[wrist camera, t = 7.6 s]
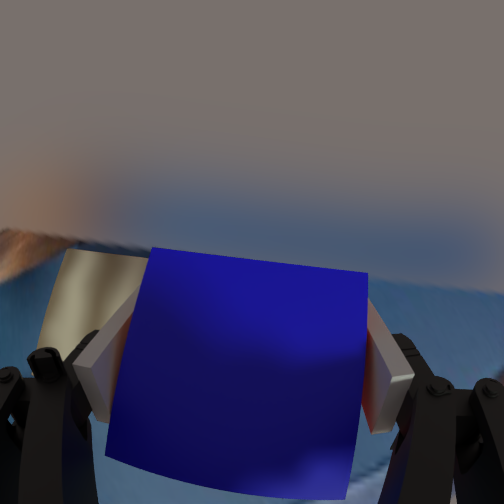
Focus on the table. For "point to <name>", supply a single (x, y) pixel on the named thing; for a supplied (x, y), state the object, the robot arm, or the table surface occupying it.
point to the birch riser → (87, 296)
